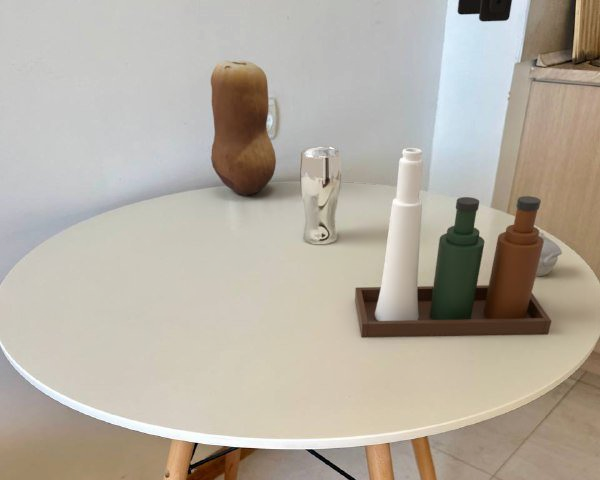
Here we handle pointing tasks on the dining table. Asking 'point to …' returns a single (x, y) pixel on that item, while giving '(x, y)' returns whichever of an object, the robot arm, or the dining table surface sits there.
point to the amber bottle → (515, 264)
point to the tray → (426, 326)
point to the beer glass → (320, 192)
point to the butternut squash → (241, 127)
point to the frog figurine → (547, 256)
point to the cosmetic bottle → (403, 244)
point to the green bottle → (458, 265)
